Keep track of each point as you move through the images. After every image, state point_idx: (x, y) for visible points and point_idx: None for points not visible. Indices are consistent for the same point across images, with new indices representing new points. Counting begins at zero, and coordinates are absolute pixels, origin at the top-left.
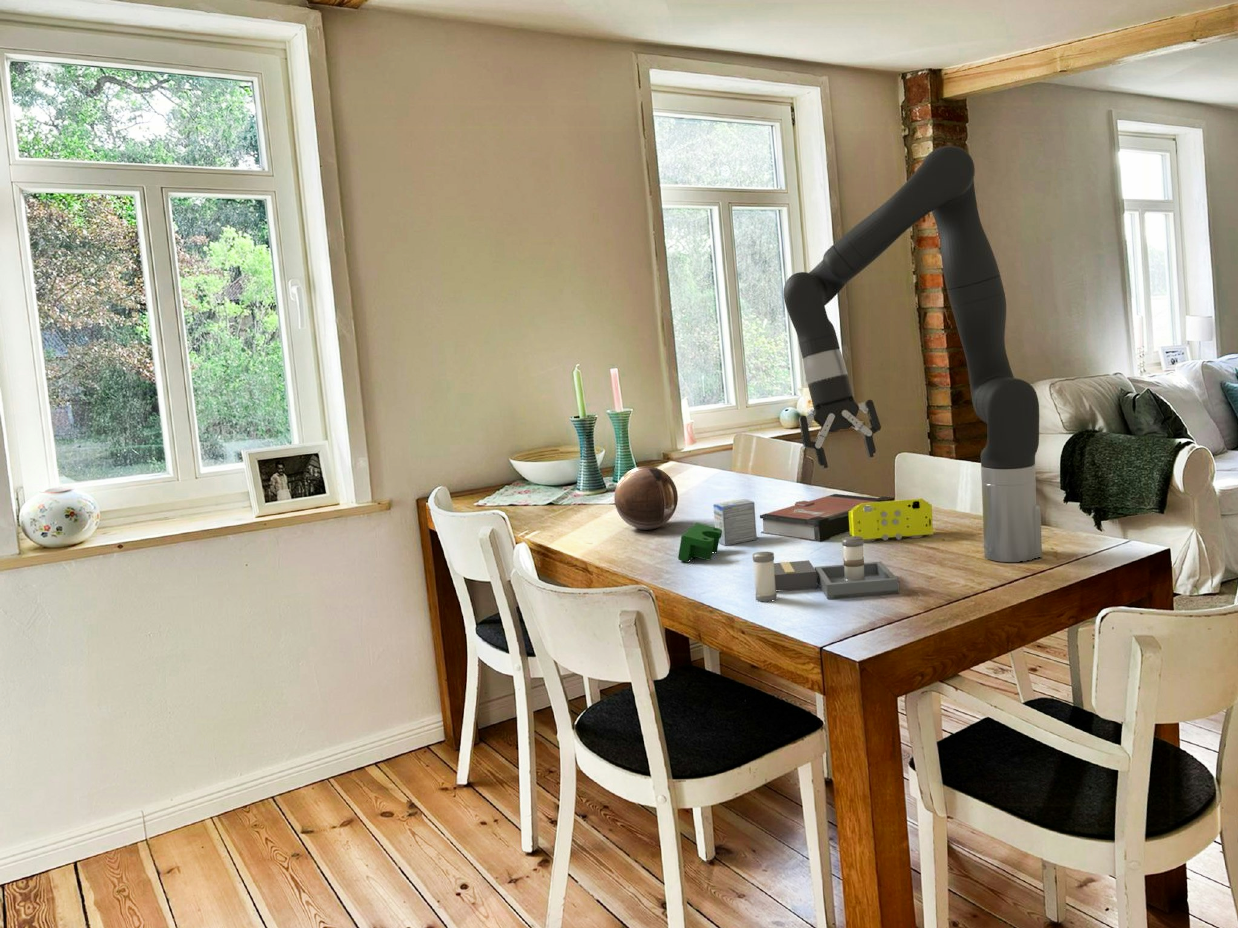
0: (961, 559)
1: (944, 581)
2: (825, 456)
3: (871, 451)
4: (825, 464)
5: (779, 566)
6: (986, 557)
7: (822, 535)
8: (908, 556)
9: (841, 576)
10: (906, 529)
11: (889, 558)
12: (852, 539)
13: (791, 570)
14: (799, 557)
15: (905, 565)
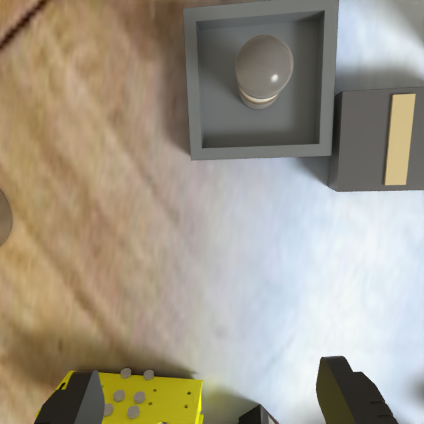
0: (49, 219)
1: (97, 86)
2: (350, 409)
3: (69, 393)
4: (339, 365)
5: (413, 158)
6: (9, 209)
7: (254, 417)
8: (130, 264)
9: (274, 144)
10: (107, 382)
11: (163, 262)
12: (265, 56)
13: (398, 106)
14: (318, 319)
15: (144, 209)
